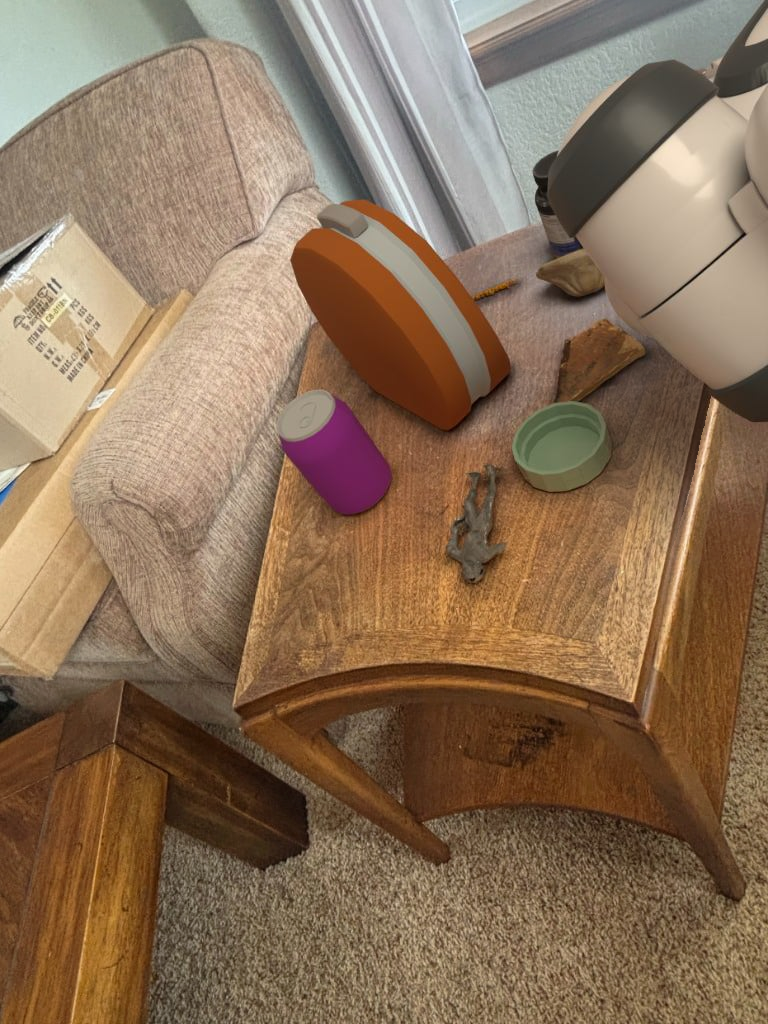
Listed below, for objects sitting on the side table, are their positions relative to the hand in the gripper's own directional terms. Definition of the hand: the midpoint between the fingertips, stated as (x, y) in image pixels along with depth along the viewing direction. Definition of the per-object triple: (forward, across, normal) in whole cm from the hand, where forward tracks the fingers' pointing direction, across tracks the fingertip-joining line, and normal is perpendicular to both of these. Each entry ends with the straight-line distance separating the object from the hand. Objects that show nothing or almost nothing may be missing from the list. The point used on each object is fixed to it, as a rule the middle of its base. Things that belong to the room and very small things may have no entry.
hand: (604, 166), depth 77 cm
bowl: (+14, +29, +8) cm, 33 cm away
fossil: (+5, +6, +9) cm, 12 cm away
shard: (+8, +20, +9) cm, 23 cm away
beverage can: (+35, +23, +9) cm, 43 cm away
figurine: (+23, +34, +9) cm, 42 cm away
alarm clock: (+24, +11, +9) cm, 28 cm away
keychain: (+16, 0, +8) cm, 18 cm away
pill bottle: (+5, 0, +8) cm, 10 cm away
